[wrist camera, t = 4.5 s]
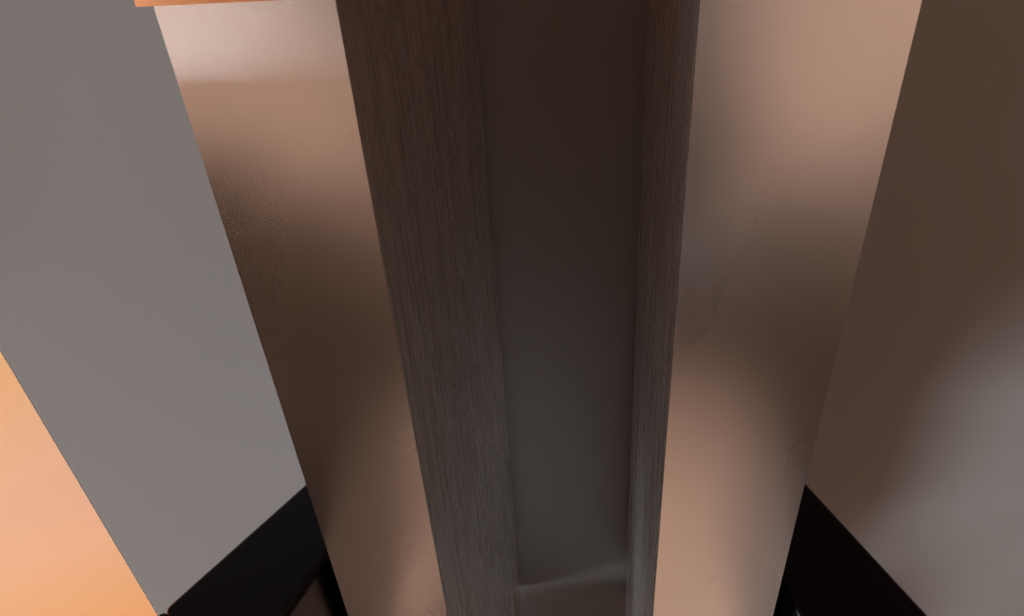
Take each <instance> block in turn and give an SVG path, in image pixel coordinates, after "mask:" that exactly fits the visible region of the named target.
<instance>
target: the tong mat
mask: <svg viewBox="0 0 1024 616" xmlns="http://www.w3.org/2000/svg"><path fill="white" fill-rule="evenodd" d="M474 4H475V17H476V30H477V43H478V56H479V69H480V82H481V95H482V107H483V120H484V133H485V146H486V159H487V172H488V185H489V198H490V211H491V224H492V237H493V250H494V262H495V275H496V288H497V301H498V314H499V327H500V340H501V353H502V366H503V379H504V392H505V404H506V417H507V430H508V443H509V456H510V469H511V482H512V495H513V508H514V521H515V534H516V546H517V559H518V572H519V585H520V605H519V613H518V616H625V591H626V564H627V537H628V510H629V483H630V456H631V429H632V402H633V375H634V348H635V321H636V294H637V266H638V239H639V212H640V185H641V158H642V131H643V104H644V77H645V50H646V23H647V0H474ZM0 351H1V353H2V355H3V356H4V358H5V360H6V361H7V363H8V365H9V366H10V368H11V370H12V371H13V373H14V375H15V376H16V378H17V380H18V382H19V383H20V385H21V387H22V388H23V390H24V392H25V393H26V395H27V397H28V398H29V400H30V402H31V403H32V405H33V407H34V408H35V410H36V412H37V413H38V415H39V417H40V418H41V420H42V422H43V424H44V425H45V427H46V429H47V430H48V432H49V434H50V435H51V437H52V439H53V440H54V442H55V444H56V445H57V447H58V449H59V450H60V452H61V454H62V455H63V457H64V459H65V461H66V462H67V464H68V466H69V467H70V469H71V471H72V472H73V474H74V476H75V477H76V479H77V481H78V482H79V484H80V486H81V487H82V489H83V491H84V492H85V494H86V496H87V498H88V499H89V501H90V503H91V504H92V506H93V508H94V509H95V511H96V513H97V514H98V516H99V518H100V519H101V521H102V523H103V524H104V526H105V528H106V529H107V531H108V533H109V535H110V536H111V538H112V540H113V541H114V543H115V545H116V546H117V548H118V550H119V551H120V553H121V555H122V556H123V558H124V560H125V561H126V563H127V565H128V566H129V568H130V570H131V572H132V573H133V575H134V577H135V578H136V580H137V582H138V583H139V585H140V587H141V588H142V590H143V592H144V593H145V595H146V597H147V598H148V600H149V602H150V603H151V605H152V607H153V608H154V610H155V612H156V614H157V615H158V616H159V615H160V614H162V613H166V614H167V609H168V607H169V606H170V605H171V604H173V603H174V602H175V601H176V600H177V599H178V598H179V597H180V596H182V595H183V594H184V593H185V592H186V591H187V590H188V589H189V588H191V587H192V586H193V585H194V584H195V583H196V582H197V581H198V580H199V579H201V578H202V577H203V576H204V575H205V574H206V573H207V572H208V571H210V570H211V569H212V568H213V567H214V566H215V565H216V564H217V563H219V562H220V561H221V560H222V559H223V558H224V557H225V556H226V555H228V554H229V553H230V552H231V551H232V550H233V549H234V548H235V547H237V546H238V545H239V544H240V543H241V542H242V541H243V540H244V539H246V538H247V537H248V536H249V535H250V534H251V533H252V532H253V531H255V530H256V529H257V528H258V527H259V526H260V525H261V524H262V523H264V522H265V521H266V520H267V519H268V518H269V517H270V516H271V515H272V514H274V513H275V512H276V511H277V510H278V509H279V508H280V507H281V506H283V505H284V504H285V503H286V502H287V501H288V500H289V499H290V498H292V497H293V496H294V495H295V494H296V493H297V492H298V491H299V490H301V489H302V488H303V487H304V486H305V485H306V482H305V479H304V476H303V473H302V470H301V467H300V464H299V461H298V457H297V454H296V451H295V448H294V445H293V442H292V439H291V436H290V432H289V429H288V426H287V423H286V420H285V417H284V414H283V410H282V407H281V404H280V401H279V398H278V395H277V392H276V389H275V385H274V382H273V379H272V376H271V373H270V370H269V367H268V364H267V360H266V357H265V354H264V351H263V348H262V345H261V342H260V338H259V335H258V332H257V329H256V326H255V323H254V320H253V317H252V313H251V310H250V307H249V304H248V301H247V298H246V295H245V292H244V288H243V285H242V282H241V279H240V276H239V273H238V270H237V267H236V263H235V260H234V257H233V254H232V251H231V248H230V245H229V241H228V238H227V235H226V232H225V229H224V226H223V223H222V220H221V216H220V213H219V210H218V207H217V204H216V201H215V198H214V195H213V191H212V188H211V185H210V182H209V179H208V176H207V173H206V169H205V166H204V163H203V160H202V157H201V154H200V151H199V148H198V144H197V141H196V138H195V135H194V132H193V129H192V126H191V123H190V119H189V116H188V113H187V110H186V107H185V104H184V101H183V98H182V94H181V91H180V88H179V85H178V82H177V79H176V76H175V72H174V69H173V66H172V63H171V60H170V57H169V54H168V51H167V47H166V44H165V41H164V38H163V35H162V32H161V29H160V26H159V22H158V19H157V16H156V13H155V10H154V7H153V6H146V7H136V6H135V3H134V0H0ZM805 484H806V485H807V486H808V487H809V488H810V489H811V490H812V491H813V492H814V494H815V495H816V496H817V497H818V498H819V499H820V500H821V501H822V502H823V503H824V504H825V505H826V507H827V508H828V509H829V510H830V511H831V512H832V513H833V514H834V515H835V516H836V517H837V518H838V520H839V521H840V522H841V523H842V524H843V525H844V526H845V527H846V528H847V529H848V530H849V531H850V532H851V534H852V535H853V536H854V537H855V538H856V539H857V540H858V541H859V542H860V543H861V544H862V545H863V547H864V548H865V549H866V550H867V551H868V552H869V553H870V554H871V555H872V556H873V557H874V558H875V560H876V561H877V562H878V563H879V564H880V565H881V566H882V567H883V568H884V569H885V570H886V571H887V573H888V574H889V575H890V576H891V577H892V578H893V579H894V580H895V581H896V582H897V583H898V584H899V586H900V587H901V588H902V589H903V590H904V591H905V592H906V593H907V594H908V595H909V596H910V597H911V599H912V600H913V601H914V602H915V603H916V604H917V605H918V606H919V607H920V608H921V609H922V610H923V612H924V613H925V614H926V615H927V616H1024V0H922V3H921V7H920V11H919V15H918V19H917V23H916V28H915V32H914V36H913V40H912V44H911V48H910V52H909V56H908V61H907V65H906V69H905V73H904V77H903V81H902V85H901V89H900V94H899V98H898V102H897V106H896V110H895V114H894V118H893V122H892V127H891V131H890V135H889V139H888V143H887V147H886V151H885V155H884V160H883V164H882V168H881V172H880V176H879V180H878V184H877V189H876V193H875V197H874V201H873V205H872V209H871V213H870V217H869V222H868V226H867V230H866V234H865V238H864V242H863V246H862V250H861V255H860V259H859V263H858V267H857V271H856V275H855V279H854V283H853V288H852V292H851V296H850V300H849V304H848V308H847V312H846V316H845V321H844V325H843V329H842V333H841V337H840V341H839V345H838V349H837V354H836V358H835V362H834V366H833V370H832V374H831V378H830V382H829V387H828V391H827V395H826V399H825V403H824V407H823V411H822V415H821V420H820V424H819V428H818V432H817V436H816V440H815V444H814V449H813V453H812V457H811V461H810V465H809V469H808V473H807V477H806V482H805Z"/></svg>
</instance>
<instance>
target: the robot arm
mask: <svg viewBox="0 0 1024 616" xmlns="http://www.w3.org/2000/svg"><path fill="white" fill-rule="evenodd" d="M159 616H348V614H347V611H346V608H345V605H344V601H343V598H342V595H341V592H340V589H339V586H338V583H337V579H336V576H335V573H334V570H333V567H332V564H331V561H330V558H329V554H328V551H327V548H326V545H325V542H324V539H323V536H322V533H321V529H320V526H319V523H318V520H317V517H316V514H315V511H314V507H313V504H312V501H311V498H310V495H309V492H308V489H307V486H306V485H305V486H304V487H303V488H302V489H301V490H299V491H298V492H297V493H296V494H295V495H294V496H293V497H292V498H290V499H289V500H288V501H287V502H286V503H285V504H284V505H283V506H281V507H280V508H279V509H278V510H277V511H276V512H275V513H274V514H272V515H271V516H270V517H269V518H268V519H267V520H266V521H265V522H264V523H262V524H261V525H260V526H259V527H258V528H257V529H256V530H255V531H253V532H252V533H251V534H250V535H249V536H248V537H247V538H246V539H244V540H243V541H242V542H241V543H240V544H239V545H238V546H237V547H235V548H234V549H233V550H232V551H231V552H230V553H229V554H228V555H226V556H225V557H224V558H223V559H222V560H221V561H220V562H219V563H217V564H216V565H215V566H214V567H213V568H212V569H211V570H210V571H208V572H207V573H206V574H205V575H204V576H203V577H202V578H201V579H199V580H198V581H197V582H196V583H195V584H194V585H193V586H192V587H191V588H189V589H188V590H187V591H186V592H185V593H184V594H183V595H182V596H180V597H179V598H178V599H177V600H176V601H175V602H174V603H173V604H171V605H170V606H169V607H168V609H167V614H166V613H162V614H160V615H159ZM773 616H927V615H926V614H925V613H924V612H923V610H922V609H921V608H920V607H919V606H918V605H917V604H916V603H915V602H914V601H913V600H912V599H911V597H910V596H909V595H908V594H907V593H906V592H905V591H904V590H903V589H902V588H901V587H900V586H899V584H898V583H897V582H896V581H895V580H894V579H893V578H892V577H891V576H890V575H889V574H888V573H887V571H886V570H885V569H884V568H883V567H882V566H881V565H880V564H879V563H878V562H877V561H876V560H875V558H874V557H873V556H872V555H871V554H870V553H869V552H868V551H867V550H866V549H865V548H864V547H863V545H862V544H861V543H860V542H859V541H858V540H857V539H856V538H855V537H854V536H853V535H852V534H851V532H850V531H849V530H848V529H847V528H846V527H845V526H844V525H843V524H842V523H841V522H840V521H839V520H838V518H837V517H836V516H835V515H834V514H833V513H832V512H831V511H830V510H829V509H828V508H827V507H826V505H825V504H824V503H823V502H822V501H821V500H820V499H819V498H818V497H817V496H816V495H815V494H814V492H813V491H812V490H811V489H810V488H809V487H808V486H807V485H806V484H805V486H804V490H803V494H802V498H801V502H800V506H799V510H798V515H797V519H796V523H795V527H794V531H793V535H792V539H791V543H790V548H789V552H788V556H787V560H786V564H785V568H784V572H783V576H782V581H781V585H780V589H779V593H778V597H777V601H776V605H775V609H774V614H773Z"/></svg>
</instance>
